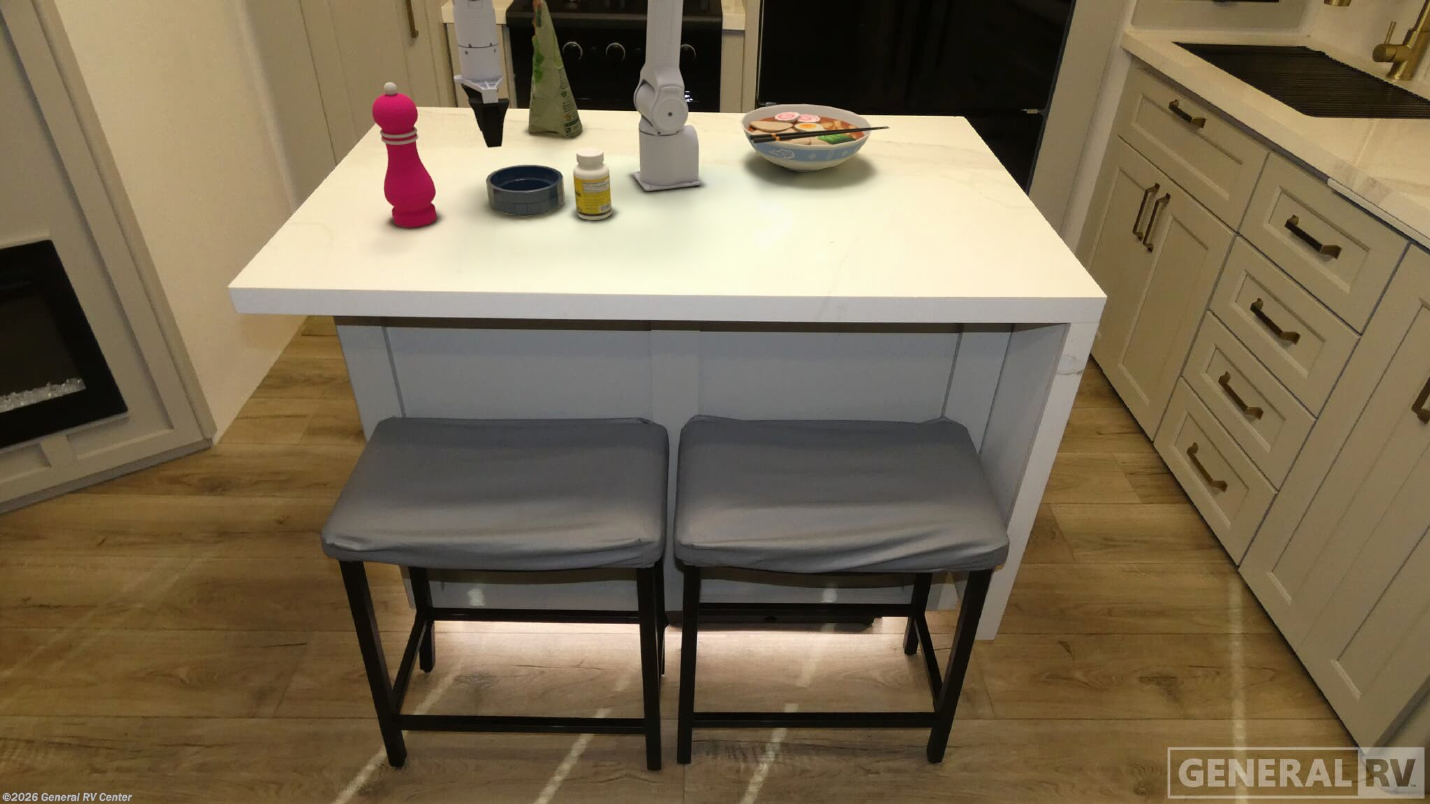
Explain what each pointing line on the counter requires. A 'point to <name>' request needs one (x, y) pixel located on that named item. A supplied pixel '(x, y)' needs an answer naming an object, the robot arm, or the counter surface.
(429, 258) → the counter surface
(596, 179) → the supplement bottle
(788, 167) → the ramen bowl
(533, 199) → the bowl
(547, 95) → the pouch
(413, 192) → the pepper mill
